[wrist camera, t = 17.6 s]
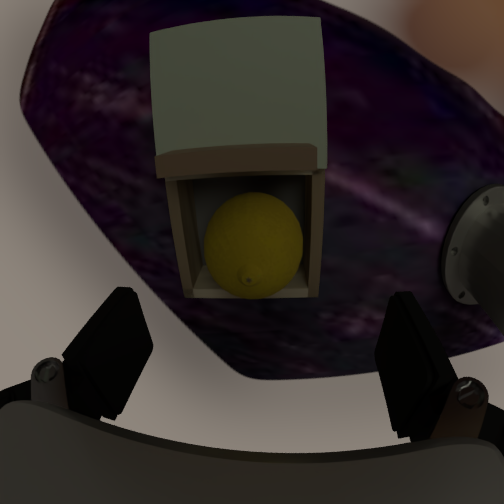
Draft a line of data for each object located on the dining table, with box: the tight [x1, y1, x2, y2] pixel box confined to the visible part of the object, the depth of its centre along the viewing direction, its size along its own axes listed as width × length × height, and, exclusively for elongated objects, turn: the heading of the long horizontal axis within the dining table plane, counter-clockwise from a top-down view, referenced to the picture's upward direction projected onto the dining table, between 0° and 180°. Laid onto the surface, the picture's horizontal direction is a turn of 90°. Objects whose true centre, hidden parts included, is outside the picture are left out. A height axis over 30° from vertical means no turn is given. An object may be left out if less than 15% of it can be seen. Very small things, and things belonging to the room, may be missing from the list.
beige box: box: [165, 168, 325, 298], centre depth 17 cm, size 9×16×4 cm, turn 3°
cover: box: [150, 16, 327, 178], centre depth 11 cm, size 9×8×3 cm
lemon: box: [204, 192, 303, 299], centre depth 16 cm, size 6×6×8 cm
